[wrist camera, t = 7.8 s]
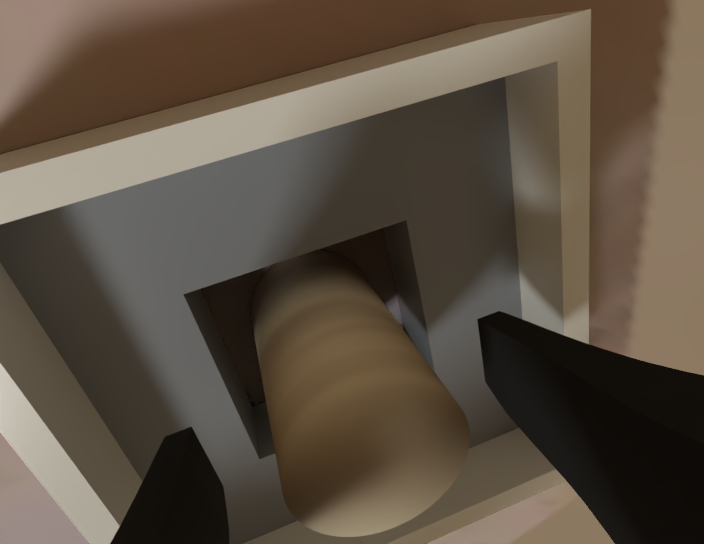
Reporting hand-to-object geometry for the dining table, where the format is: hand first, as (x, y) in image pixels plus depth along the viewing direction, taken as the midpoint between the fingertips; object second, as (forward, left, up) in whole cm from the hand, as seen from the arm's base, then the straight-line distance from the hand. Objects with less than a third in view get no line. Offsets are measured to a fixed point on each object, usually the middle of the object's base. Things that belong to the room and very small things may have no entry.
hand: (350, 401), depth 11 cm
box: (0, 0, -5) cm, 5 cm away
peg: (0, 0, -5) cm, 5 cm away
